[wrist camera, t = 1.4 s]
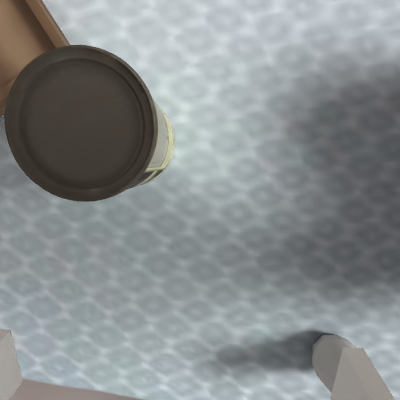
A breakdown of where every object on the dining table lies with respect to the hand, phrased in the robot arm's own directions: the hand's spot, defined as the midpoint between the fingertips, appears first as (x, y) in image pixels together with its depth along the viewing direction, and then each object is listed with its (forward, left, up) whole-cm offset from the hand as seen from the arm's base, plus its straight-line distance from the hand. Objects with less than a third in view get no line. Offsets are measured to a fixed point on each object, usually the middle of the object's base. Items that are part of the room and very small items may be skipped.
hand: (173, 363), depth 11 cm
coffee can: (0, -13, -23) cm, 26 cm away
